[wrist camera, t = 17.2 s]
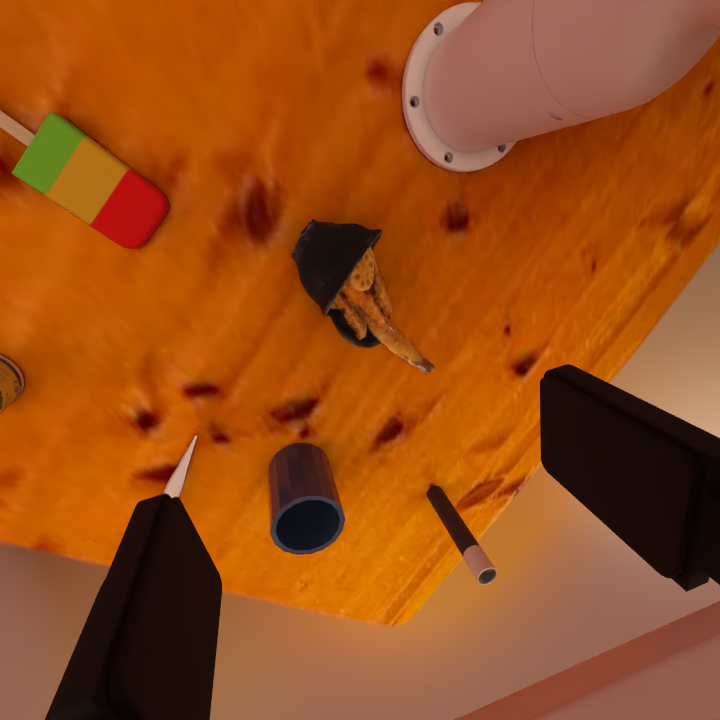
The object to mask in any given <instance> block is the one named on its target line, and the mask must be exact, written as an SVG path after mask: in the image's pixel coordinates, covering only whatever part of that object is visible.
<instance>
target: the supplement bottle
mask: <svg viewBox="0 0 720 720" xmlns="http://www.w3.org/2000/svg"><path fill="white" fill-rule="evenodd" d="M23 388H24V378H23V375H22V373H21V371H20V370H19V368H18V367H17V366H16V365H15V364H14V363H13V362H12V361H10V360H9V359H7V358H6V357H4V356H2V355H0V412H2V411H3V410H4V409H5V408H7V407H8V406H9V405H11V404H12V403H13V402H14V401H15V400H16V399H17V398H18V397H19V396H20V395H21V393H22V391H23Z"/></svg>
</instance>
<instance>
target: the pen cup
mask: <svg viewBox="0 0 720 720" xmlns="http://www.w3.org/2000/svg"><path fill="white" fill-rule="evenodd" d="M268 486H269V509H270V532H271V536H272V538H273V541H274V543H275V544H276V545H277V546H278V547H279V548H281V549H282V550H283V551H285V552H289V553H292V554H296V555H299V554H312V553H314V552H317V551H320V550H323V549H325V548H326V547H327V546H329V545H330V544H332V543H333V542H334V541H335V540H336V539H337V538H338V536H339V535H340V533H341V532H342V530H343V526H344V522H345V517H344V513H343V509H342V506H341V502H340V499H339V495H338V492H337V488H336V485H335V482H334V478H333V475H332V471H331V468H330V464H329V461H328V458H327V456H326V454H325V453H324V452H323V451H322V450H321V449H320V448H318V447H317V446H314V445H312V444H307V443H298V444H293V445H290V446H287V447H285V448H283V449H282V450H280V451H279V452H278V453H277V454H276V455H275V456H274V457H273V459H272V461H271V463H270V465H269V471H268Z"/></svg>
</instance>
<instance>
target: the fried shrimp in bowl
mask: <svg viewBox="0 0 720 720" xmlns="http://www.w3.org/2000/svg"><path fill="white" fill-rule="evenodd" d="M312 221H313V222H310V223H309V224H308V225H307V227H306V228H305V229H304V230H303V231H302V233H301V235H300V237H299V240H298V242H297V243H296V245H295V248H293V249H292V253H291V257H292V258H293V259H294V261H295V262H296V264H297V266H298V271H299V275H300V280H301V283H302V285H303V286H304V288H305V290H306V292H307V293H308V294H309V296H310V297H311V298H312V299H313V300H314V301H315V302H316V303H317V304H318V305H319V306H320V308H321V310H322V313H323V315H324V316H327V315H330V316H331V318H332V320H333V323H334V325H335V326H336V328H337V330H338V332H339V333H340V334H341V335H342V337H343V338H345V339H346V340H347V341H348V342H350V343H351V344H353V345H354V346H358V347H361V348H372V347H374V346H377V345H378V344H385V346H386V347H387V348H388V349H389V350H390V351H391V352H393V353H394V354H396V355H398V356H400V357H402V358H403V359H404V360H405V361H406V362H407V363H409V364H411V365H413V366H415V367H417V368H419V369H420V370H422V371H423V372H424V373H426V374H429V373H430V372H433V371H434V370H435V367H434V366H433V364H431V363H430V362H429V361H428V359H427V358H423V356H422V354H421V352H420V351H419V350H418V349H417V348H416V347H415V346H414V344H412V343H410V341H409V340H408V339H406V337H405V336H403V335H402V333H401V332H399V331H398V329H397V328H396V326H395V325H394V324H393V323H392V322H391V321H390V314H391V313H392V306H391V303H390V299H389V296H388V293H387V291H386V287H385V284H384V280H383V278H382V276H381V272H380V270H379V268H378V266H377V264H376V260H375V257H374V254H373V249H374V247H375V245H376V243H377V241H378V240H379V239H380V237H381V235H382V233H383V232H382V230H380V229H377V230H369V229H366V228H365V227H363V226H360V225H358V224H334V223H325V222H317V221H315V220H313V219H312Z"/></svg>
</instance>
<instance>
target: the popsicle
mask: <svg viewBox="0 0 720 720" xmlns="http://www.w3.org/2000/svg"><path fill="white" fill-rule="evenodd" d="M0 127H1V128H2V129H4V130H5V131H7V132H8V133H9V134H11V135H12V136H14V137H15V138H16V139H18V140H19V141H21V142H22V143H24V144H25V145H26V146H28V147H27V149H26V151H25V152H24V154H23V156H22V157H21V159H20V160H19V162H18V164H17V165H16V167H15V168H14V170H13V172H12V174H13V175H15V176H16V177H18V178H19V179H21V180H22V181H24V182H25V183H27V184H28V185H30V186H31V187H33V188H34V189H36V190H37V191H39V192H40V193H42V194H43V195H45V196H46V197H48V198H49V199H51V200H52V201H54V202H55V203H57V204H58V205H60V206H61V207H63V208H64V209H66V210H67V211H69V212H70V213H72V214H73V215H75V216H76V217H78V218H79V219H81V220H82V221H84V222H85V223H87V224H88V225H90V226H91V227H93V228H94V229H96V230H97V231H99V232H100V233H102V234H103V235H105V236H106V237H108V238H109V239H111V240H112V241H114V242H115V243H117V244H119V245H121V246H122V247H124V248H128V249H137V248H140V247H142V246H144V245H145V244H146V243H147V242H148V240H149V239H150V238H151V236H152V235H153V233H154V232H155V231H156V229H157V228H158V226H159V225H160V223H161V222H162V220H163V219H164V218H165V216H166V214H167V212H168V208H169V204H168V200H167V198H166V197H165V195H164V194H163V193H162V192H161V191H160V190H158V189H157V188H156V187H155V186H153V185H152V184H151V183H149V182H148V181H147V180H145V179H144V178H143V177H141V176H140V175H139V174H137V173H136V172H135V171H133V170H132V169H131V168H129V167H128V166H127V165H126V164H124V163H123V162H122V161H120V160H119V159H118V158H116V157H115V156H114V155H112V154H111V153H110V152H108V151H107V150H106V149H104V148H103V147H102V146H100V145H99V144H98V143H96V142H95V141H94V140H93V139H91V138H90V137H89V136H87V135H86V134H85V133H83V132H82V131H81V130H79V129H78V128H77V127H75V126H74V125H73V124H71V123H70V122H69V121H67V120H66V119H65V118H63V117H62V116H60V115H58V114H56V113H52V112H51V113H49V114H48V115H47V117H46V119H45V120H44V122H43V123H42V125H41V127H40V128H39V130H38V131H37V133H36V135H35V134H33V133H32V132H30V131H29V130H28V129H26V128H25V127H23V126H22V125H21V124H19V123H18V122H16V121H15V120H14V119H12V118H11V117H10V116H8V115H7V114H5V113H4V112H3V111H1V110H0Z"/></svg>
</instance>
